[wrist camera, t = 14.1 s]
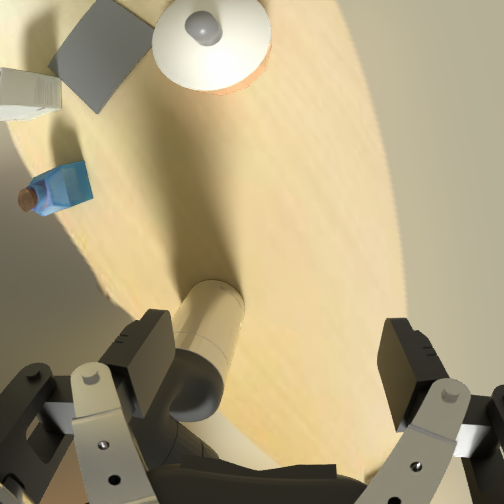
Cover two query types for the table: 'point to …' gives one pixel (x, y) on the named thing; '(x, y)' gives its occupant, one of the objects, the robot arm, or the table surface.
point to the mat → (101, 52)
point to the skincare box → (27, 95)
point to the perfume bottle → (56, 189)
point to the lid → (211, 42)
